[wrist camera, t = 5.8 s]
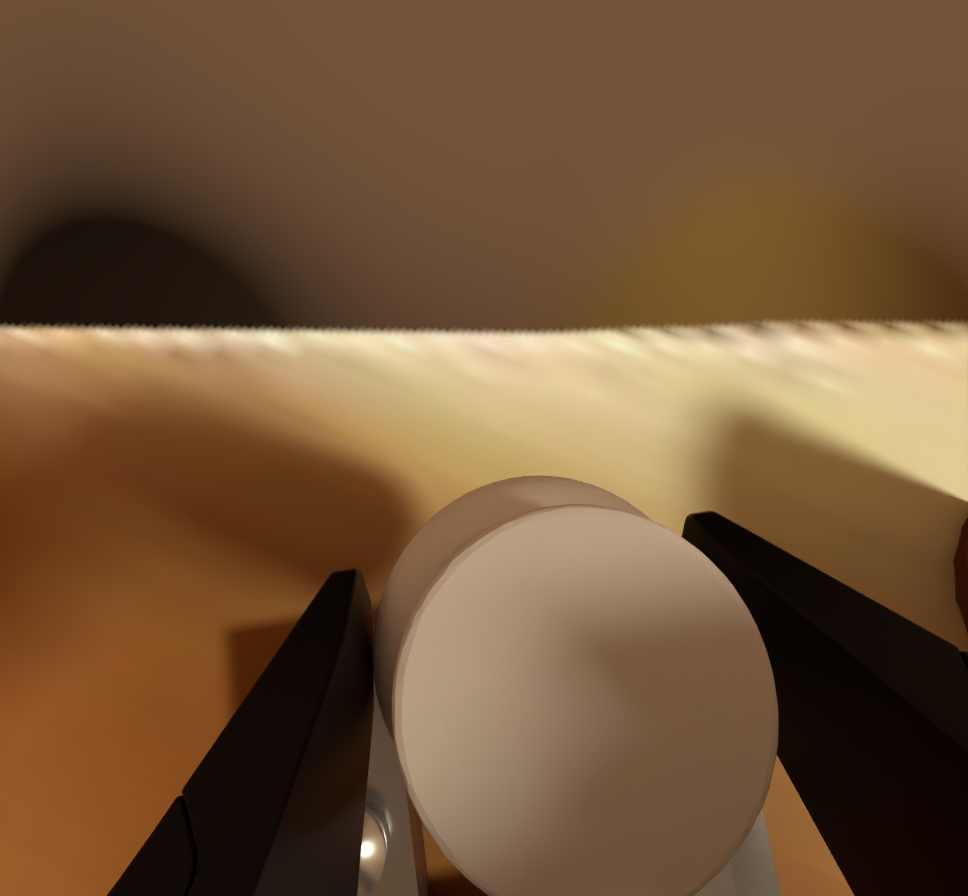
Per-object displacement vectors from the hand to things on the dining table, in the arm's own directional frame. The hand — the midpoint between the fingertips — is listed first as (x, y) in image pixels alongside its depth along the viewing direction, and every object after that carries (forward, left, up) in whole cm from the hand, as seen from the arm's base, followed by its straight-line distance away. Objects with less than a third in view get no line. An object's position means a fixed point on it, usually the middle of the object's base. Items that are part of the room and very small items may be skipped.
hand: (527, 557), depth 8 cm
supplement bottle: (-1, -1, -7) cm, 7 cm away
